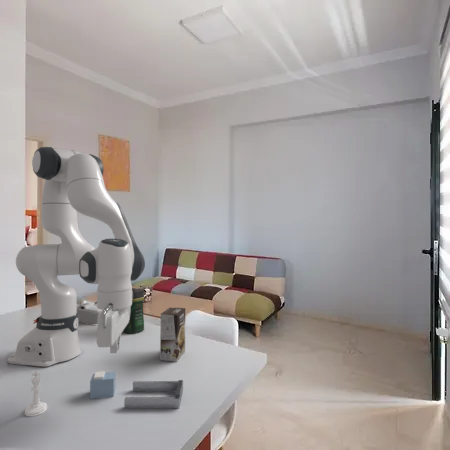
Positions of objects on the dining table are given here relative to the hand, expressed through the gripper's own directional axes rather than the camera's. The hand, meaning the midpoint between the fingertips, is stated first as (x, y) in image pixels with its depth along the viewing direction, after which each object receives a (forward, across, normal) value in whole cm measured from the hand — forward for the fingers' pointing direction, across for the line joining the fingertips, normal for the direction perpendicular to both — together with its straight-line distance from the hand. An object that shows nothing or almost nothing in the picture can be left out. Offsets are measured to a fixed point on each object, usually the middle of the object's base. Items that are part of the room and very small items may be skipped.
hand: (114, 351), depth 85 cm
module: (+13, +3, +4) cm, 14 cm away
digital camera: (+13, +69, +28) cm, 75 cm away
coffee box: (+13, +27, -14) cm, 33 cm away
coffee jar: (+12, +53, +6) cm, 55 cm away
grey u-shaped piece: (+13, 0, -11) cm, 17 cm away
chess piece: (+13, -3, +19) cm, 23 cm away
